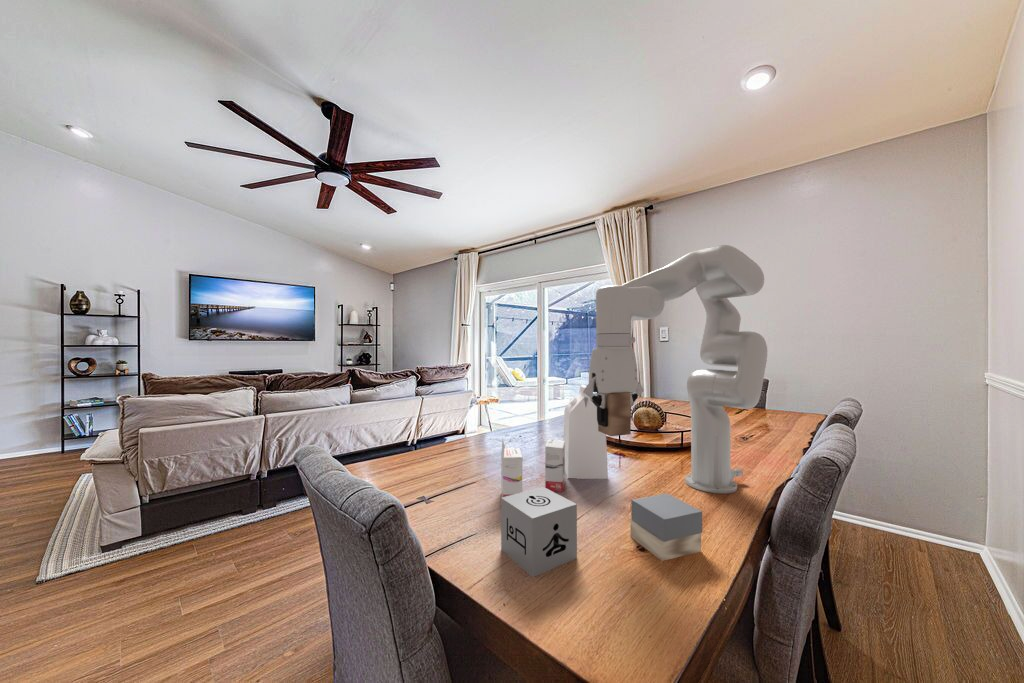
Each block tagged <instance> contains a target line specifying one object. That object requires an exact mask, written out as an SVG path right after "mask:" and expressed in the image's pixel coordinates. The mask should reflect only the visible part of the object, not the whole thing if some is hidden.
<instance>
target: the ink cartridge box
mask: <svg viewBox="0 0 1024 683" xmlns="http://www.w3.org/2000/svg"><path fill="white" fill-rule="evenodd" d="M504 439H505V438H504V437H502V440H501V452H500V453H501V461H500V462H501V463H500V464H501V469H500V470H501V472H500V473H501V480H500V482H501V485H500V486H501V488H500V490H501V492H500V494H501V498H502V497H506V496H510V495H513V494H517V493H521V492H523V458H524V457H523V454H522V452H521V449H520V447H509V448H506V447H505V446H506V445H505V444H506V443H505V440H504Z"/></svg>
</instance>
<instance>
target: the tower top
mask: <svg viewBox="0 0 1024 683" xmlns="http://www.w3.org/2000/svg"><path fill="white" fill-rule="evenodd" d="M630 500H631V511H630V513H631V518H630V519H631V520H633V521H634V522H636V523H637V524H639V525H640V526H642V527H643V528H645V529H646V530H648V531H649V532H651V533H652V534H654V535H655V536H656V537H658V538H659V539H661V540H662V541H664V542H666V541H670V540H674V539H678V538H682V537H687V536H691V535H695V534H699V533H701V534H702V533H703V511H702V510H700V509H699V508H697V507H694V506H692V505H691V504H689V503H687V502H685V501H683V500H681V499H679V498H677V497H675V496H673V495H671V494H669V493H660V494H655V495H650V496H645V497H644V496H643V497H638V498H633V499H630Z"/></svg>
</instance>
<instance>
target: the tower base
mask: <svg viewBox="0 0 1024 683" xmlns="http://www.w3.org/2000/svg"><path fill="white" fill-rule="evenodd" d="M629 523H630V527H629V528H630V538H632V539H633V540H634V541H636V543H638V544H639V545H640V546H642V547H643V548H645V549H646V550H647V551H648V552H649V553H651V554H652V555H653V556H655V557H656V558H657V559H658V560H660V561H661V562H664V561H667V560H671V559H676V558H680V557H683V556H688V555H693V554H697V553H701V552H702V533H699V534H695V535H691V536H687V537H682V538H678V539H674V540H670V541H666V542H664V541H662V540H661V539H659V538H658V537H656V536H655V535H654V534H652V533H651V532H649V531H648V530H646V529H645V528H643V527H642V526H640V525H639V524H637V523H636V522H634V521H633V520H631V518H630V522H629Z"/></svg>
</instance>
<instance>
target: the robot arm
mask: <svg viewBox="0 0 1024 683" xmlns="http://www.w3.org/2000/svg"><path fill="white" fill-rule="evenodd" d="M764 284H765V276H764V271H763V270H762V267H760V265H759V264H758V263H757V262H756V261H754V260H753V259H752V258H750V257H749V256H748V255H746V254H745V253H744V252H743V251H741V250H739V249H738V248H737V247H734V246H732V245H729V244H721V245H716V246H712V247H706V248H702V249H698V250H697V249H696V250H694V251H691V252H689V253H686V254H685V255H683V256H682V257H679V258H678V259H676V260H674V261H672V262H671V263H669V264H667V265H665V266H664V267H661V268H659V269H656V270H654V271H651V272H649V273H646V274H644V275H642V276H639V277H637V278H634V279H632V280H629V281H627V282H625V283H623V284H621V285H619V284H615V285H614V284H613V285H605V286H601V287H599V288H598V289H597V290H596V292H595V293H596V294H595V315H596V316H595V317H596V318H595V322H596V323H595V324H596V325H595V329H596V330H595V331H596V332H595V333H596V337H595V342H596V344H595V346H596V347H595V348H592V351H591V354H590V355H591V356H590V360H589V372H588V384H587V385H586V386H587V387H586V388H585V389H584V391H583V394H584V395H585V396H587V397H588V398H589V399H590V400H591V401H592V402H593V403H594V405H595V406H596V407H597V421H598V424H599V425H601V426H604V427H607V426H608V408H606V403H607V395H608V394H611V393H630V407H631V408H632V407H633V406H634V405H635V404H634V403H635V402H636V401H637V399H638V398H639V396H640V395H642V393H643V392H644V389H645V388H643V386H642V385H641V384H640V381H638V380H639V379H638V376H639V375H638V365H637V358H636V352H635V350H634V348H633V347H632V346H633V345H632V344H634V343H635V342H636V338H635V337H634V336H632V321H646V320H651V319H654V318H656V317H658V316H659V315H660V314H661V313H662V312H663V310H664V308H665V302H669V301H672V300H676V299H679V298H680V297H683V296H685V295H686V294H687V293H689V292H690V291H691V290H693V289H694V288H695V291H696V294H697V295H698V297H699V299H700V301H701V303H702V304H703V308H704V310H705V314H706V315H705V316H706V319H705V324H704V329H703V333H702V334H703V335H702V339H701V344H700V345H701V346H700V353H699V354H700V355H699V356H700V359H701V361H702V362H703V363H704V364H706V365H709V366H713V367H714V366H715V367H725V368H726V367H727V368H737V370H728V369H727V370H725V369H713V368H703V369H697V370H695V371H693V372H691V373H690V374H689V376H688V377H687V380H686V389H687V390H686V391H687V395H688V400H689V407H690V436H691V437H690V441H691V442H690V446H691V447H690V458H691V459H690V461H691V463H690V464H691V465H690V468H691V470H690V472H691V473H689V474H687V475H686V476H685V478H684V482H685V484H687V485H688V486H690V488H693V489H696V490H698V491H702V492H705V493H711V494H720V495H723V494H732V493H735V492H736V491H738V484H737V483H736V481H734V478H735V477H741V476H743V475H744V473H743V470H742V469H741V468H734V469H733V468H732V466H731V421H730V418H729V417H730V416H729V415H728V413H727V412H726V409H725V408H724V407H728V408H732V409H733V408H734V409H742V410H751V409H753V408H755V407H756V406H757V405H758V403H759V402H760V399H761V394H762V390H763V384H764V378H765V373H766V367H767V361H768V360H767V359H768V346H767V345H768V344H767V342H766V340H765V337H764V336H762V335H761V334H760V333H759V332H755V331H748V330H747V331H745V330H744V331H743V330H742V331H740V328H741V327H740V326H741V320H742V317H741V314H740V312H739V310H738V309H737V308H736V306H735V305H734V304H733V303H732V302H731V301H730V300H729V299H730V298H731V299H732V298H741V297H749V296H754V295H756V294H758V293H759V292H760V291H761V290H762V289H763V287H764ZM595 393H596V394H595Z"/></svg>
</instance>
